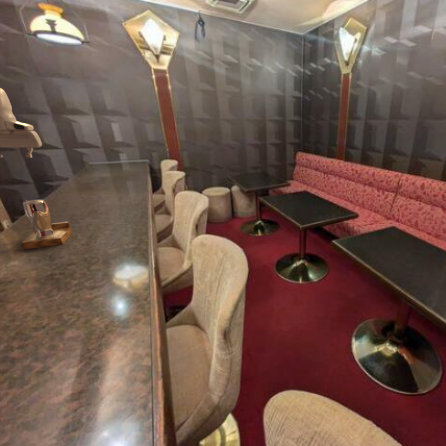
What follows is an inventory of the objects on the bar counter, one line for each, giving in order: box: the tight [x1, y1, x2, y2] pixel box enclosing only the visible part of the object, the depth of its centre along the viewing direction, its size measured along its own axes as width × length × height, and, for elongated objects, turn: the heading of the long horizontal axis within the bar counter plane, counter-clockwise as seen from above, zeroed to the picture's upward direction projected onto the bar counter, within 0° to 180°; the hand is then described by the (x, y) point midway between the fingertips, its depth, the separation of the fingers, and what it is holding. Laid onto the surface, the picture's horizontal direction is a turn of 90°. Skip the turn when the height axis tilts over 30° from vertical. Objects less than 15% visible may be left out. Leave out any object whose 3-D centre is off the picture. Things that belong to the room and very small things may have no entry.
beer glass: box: [22, 199, 55, 238], centre depth 104 cm, size 7×7×15 cm
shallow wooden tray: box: [21, 221, 73, 250], centre depth 108 cm, size 12×14×6 cm
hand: (15, 157), depth 112 cm, fingers open, 8 cm apart
